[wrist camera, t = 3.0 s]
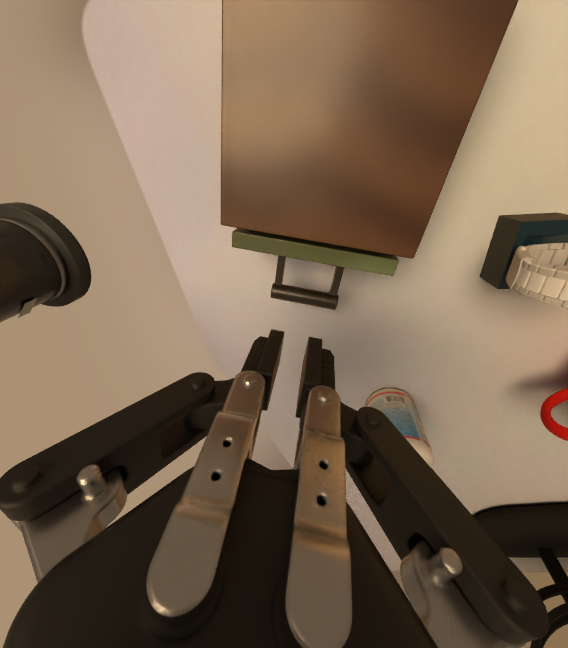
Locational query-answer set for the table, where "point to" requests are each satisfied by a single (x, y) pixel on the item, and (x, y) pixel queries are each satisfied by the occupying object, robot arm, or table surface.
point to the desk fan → (535, 547)
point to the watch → (530, 256)
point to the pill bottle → (403, 418)
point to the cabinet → (348, 113)
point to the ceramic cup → (546, 414)
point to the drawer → (313, 253)
